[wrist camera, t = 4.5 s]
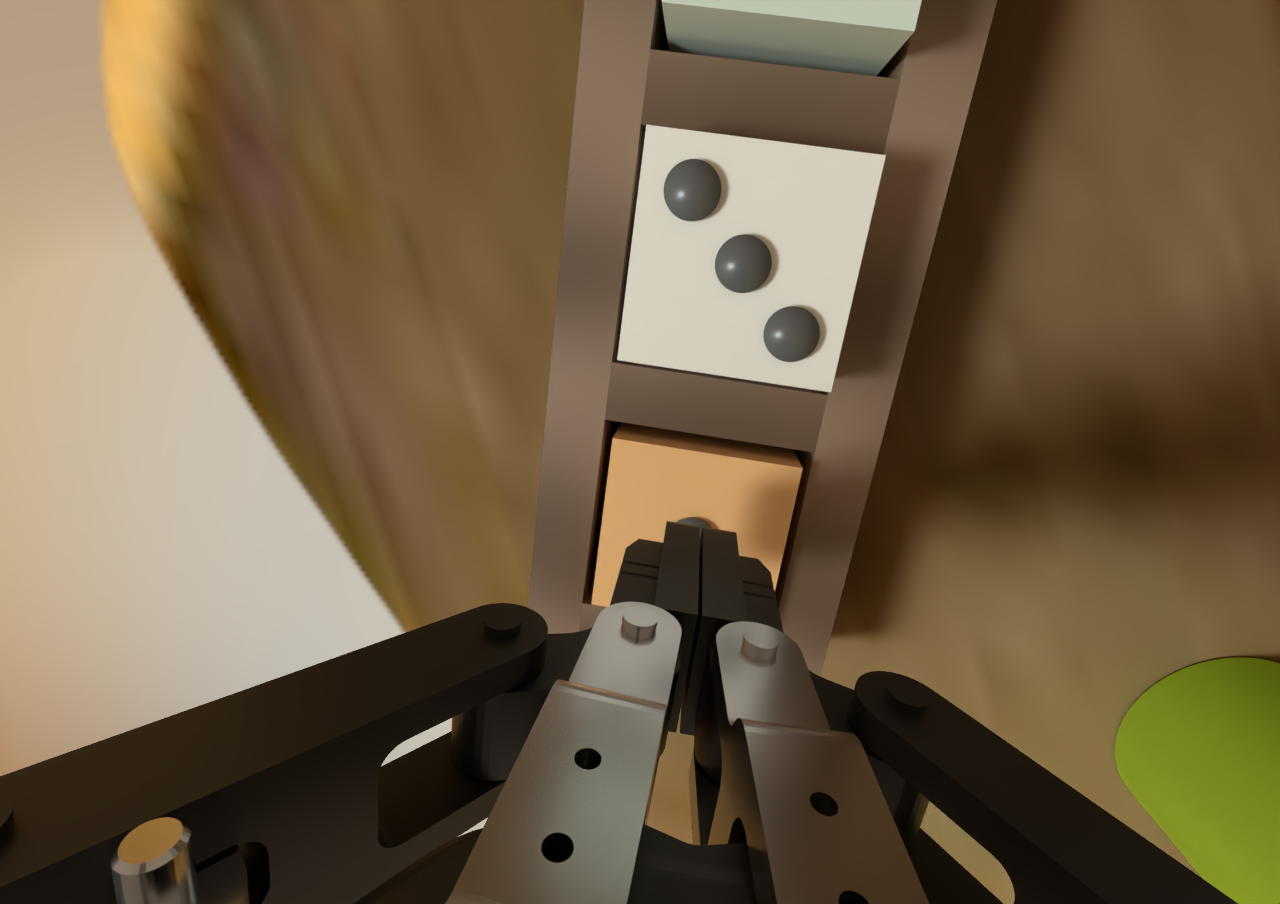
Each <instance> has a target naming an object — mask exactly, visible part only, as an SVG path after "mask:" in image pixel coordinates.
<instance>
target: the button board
mask: <svg viewBox="0 0 1280 904" xmlns="http://www.w3.org/2000/svg"><path fill="white" fill-rule="evenodd" d="M996 4H997V0H922V1H921V6H920V10H919V14H918V19H917V23H916V27H915V31H914V33H913V34H912V35H911V36H910V37H909V38H908V40H907V41H906V42H905V43H904V44H903V45H902V47H901V48H900V49H899V50H898V51H897V52H896V54H895V55H894V56H893V57H892V58H891V59H890V61H889V62H888V63H887V64H886V65H885V66H884V68H883V69H882V70H881V71H880V72H879V73H878V75H877V76H869V75H860V74H852V73H844V72H835V71H827V70H819V69H811V68H802V67H794V66H786V65H777V64H769V63H761V62H752V61H744V60H736V59H728V58H719V57H711V56H703V55H694V54H686V53H678V52H670V51H663V48H664V40H665V32H666V27H665V21H664V14H663V7H662V0H585V1H584V12H583V23H582V34H581V44H580V55H579V66H578V77H577V87H576V98H575V109H574V119H573V130H572V141H571V152H570V162H569V173H568V184H567V195H566V205H565V216H564V227H563V238H562V248H561V259H560V270H559V280H558V291H557V302H556V313H555V323H554V334H553V345H552V356H551V366H550V377H549V388H548V399H547V409H546V420H545V431H544V441H543V452H542V463H541V474H540V484H539V495H538V506H537V517H536V527H535V538H534V549H533V560H532V570H531V581H530V592H529V602H528V608H529V609H532V610H534V611H535V612H537V613H538V614H540V615H541V616H542V617H543V618H544V620H545V621H546V623H547V626H548V634H558V633H574V632H580V631H583V630H587V629H589V628H592V627H593V626H594V624H595V621H596V619H597V617H598V615H599V614H600V612H601V611H602V610H603V609H605V608H606V607H603V606H598V605H592V604H591V603H592V595H593V587H594V579H595V572H596V564H597V556H598V548H599V540H600V532H601V525H602V517H603V509H604V501H605V493H606V485H607V477H608V470H609V462H610V454H611V446H612V438H613V436H614V431H615V423H616V421H617V422H624V423H630V424H636V425H643V426H649V427H655V428H662V429H668V430H675V431H681V432H687V433H694V434H700V435H706V436H713V437H719V438H725V439H732V440H738V441H744V442H751V443H757V444H763V445H770V446H776V447H783V448H789V449H794V453H795V454H796V456H797V458H798V460H799V462H800V464H801V466H802V468H803V469H802V474H801V478H800V483H799V487H798V491H797V496H796V500H795V505H794V509H793V514H792V518H791V522H790V527H789V531H788V536H787V540H786V545H785V549H784V553H783V558H782V562H781V567H780V571H779V576H778V580H777V584H776V589H775V595H776V600H777V604H778V609H779V613H780V618H781V623H782V627H783V632H784V634H786V635H787V636H789V637H790V638H791V639H792V640H793V641H794V642H795V643H796V644H797V645H798V646H799V648H800V650H801V652H802V654H803V657H804V659H805V662H806V665H807V668H808V670H810V671H811V672H813V673H814V674H816V675H818V676H820V675H821V671H822V667H823V664H824V660H825V656H826V652H827V648H828V645H829V641H830V637H831V633H832V629H833V625H834V622H835V618H836V614H837V610H838V606H839V603H840V599H841V595H842V591H843V587H844V584H845V580H846V576H847V572H848V568H849V564H850V561H851V557H852V553H853V549H854V545H855V542H856V538H857V534H858V530H859V526H860V522H861V519H862V515H863V511H864V507H865V503H866V500H867V496H868V492H869V488H870V484H871V481H872V477H873V473H874V469H875V465H876V461H877V458H878V454H879V450H880V446H881V442H882V439H883V435H884V431H885V427H886V423H887V419H888V416H889V412H890V408H891V404H892V400H893V397H894V393H895V389H896V385H897V381H898V377H899V374H900V370H901V366H902V362H903V358H904V355H905V351H906V347H907V343H908V339H909V336H910V332H911V328H912V324H913V320H914V316H915V313H916V309H917V305H918V301H919V297H920V294H921V290H922V286H923V282H924V278H925V274H926V271H927V267H928V263H929V259H930V255H931V252H932V248H933V244H934V240H935V236H936V233H937V229H938V225H939V221H940V217H941V213H942V210H943V206H944V202H945V198H946V194H947V191H948V187H949V183H950V179H951V175H952V171H953V168H954V164H955V160H956V156H957V152H958V149H959V145H960V141H961V137H962V133H963V130H964V126H965V122H966V118H967V114H968V110H969V107H970V103H971V99H972V95H973V91H974V88H975V84H976V80H977V76H978V72H979V68H980V65H981V61H982V57H983V53H984V49H985V46H986V42H987V38H988V34H989V30H990V27H991V23H992V19H993V15H994V11H995V7H996ZM646 125H653V126H661V127H669V128H677V129H685V130H692V131H700V132H708V133H716V134H724V135H732V136H739V137H747V138H755V139H763V140H771V141H778V142H786V143H794V144H802V145H810V146H817V147H825V148H833V149H841V150H849V151H857V152H864V153H872V154H880V155H886V157H885V161H884V166H883V170H882V174H881V179H880V183H879V187H878V192H877V196H876V200H875V205H874V209H873V213H872V218H871V222H870V226H869V231H868V235H867V239H866V244H865V248H864V252H863V257H862V261H861V265H860V270H859V274H858V278H857V283H856V287H855V291H854V296H853V300H852V304H851V309H850V313H849V317H848V321H847V326H846V330H845V334H844V339H843V343H842V347H841V352H840V356H839V360H838V365H837V369H836V373H835V378H834V382H833V386H832V391H831V392H825V391H818V390H812V389H805V388H799V387H792V386H785V385H779V384H772V383H766V382H759V381H752V380H746V379H739V378H732V377H726V376H719V375H713V374H706V373H699V372H693V371H686V370H680V369H673V368H666V367H660V366H653V365H647V364H640V363H633V362H627V361H620V360H617V356H618V348H619V340H620V332H621V324H622V316H623V308H624V300H625V292H626V284H627V276H628V268H629V260H630V252H631V244H632V236H633V228H634V220H635V212H636V204H637V196H638V188H639V180H640V172H641V164H642V156H643V148H644V140H645V132H646Z"/></svg>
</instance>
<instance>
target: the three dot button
mask: <svg viewBox="0 0 1280 904" xmlns="http://www.w3.org/2000/svg"><path fill="white" fill-rule="evenodd" d="M885 157H886V155H880V154H872V153H864V152H857V151H849V150H841V149H833V148H825V147H817V146H810V145H802V144H794V143H786V142H778V141H771V140H763V139H755V138H747V137H739V136H732V135H724V134H716V133H708V132H700V131H692V130H685V129H677V128H669V127H661V126H653V125H646V132H645V140H644V148H643V156H642V164H641V172H640V180H639V188H638V196H637V204H636V212H635V220H634V228H633V236H632V244H631V252H630V260H629V268H628V276H627V284H626V292H625V300H624V308H623V316H622V324H621V332H620V340H619V348H618V356H617V360H620V361H627V362H633V363H640V364H647V365H653V366H660V367H666V368H673V369H680V370H686V371H693V372H699V373H706V374H713V375H719V376H726V377H732V378H739V379H746V380H752V381H759V382H766V383H772V384H779V385H785V386H792V387H799V388H805V389H812V390H818V391H825V392H831V391H832V386H833V382H834V378H835V373H836V369H837V365H838V360H839V356H840V352H841V347H842V343H843V339H844V334H845V330H846V326H847V321H848V317H849V313H850V309H851V304H852V300H853V296H854V291H855V287H856V283H857V278H858V274H859V270H860V265H861V261H862V257H863V252H864V248H865V244H866V239H867V235H868V231H869V226H870V222H871V218H872V213H873V209H874V205H875V200H876V196H877V192H878V187H879V183H880V179H881V174H882V170H883V166H884V161H885Z"/></svg>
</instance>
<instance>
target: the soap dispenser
mask: <svg viewBox="0 0 1280 904" xmlns="http://www.w3.org/2000/svg"><path fill="white" fill-rule="evenodd" d="M1115 761H1116V766H1117V769H1118V772H1119V774H1120V777H1121V779H1122V780H1123V782H1124V784H1125V785H1126V787H1127V788H1128V789H1129V790H1130V792H1131V793H1132V794H1133V795H1134V796H1135V798H1136V799H1137V800H1138V801H1139V802H1140V804H1141V805H1142V806H1143V807H1144V808H1145V810H1146V811H1147V812H1148V813H1149V815H1150V816H1151V817H1152V818H1153V819H1154V821H1155V822H1156V823H1157V824H1158V825H1159V827H1160V828H1161V829H1162V830H1163V831H1164V833H1165V834H1166V835H1167V836H1168V837H1169V839H1170V840H1171V841H1172V842H1173V843H1174V845H1175V846H1176V847H1177V848H1178V849H1179V851H1180V852H1181V853H1182V854H1183V855H1184V857H1185V858H1186V859H1187V860H1188V861H1189V863H1190V864H1191V865H1192V866H1193V867H1194V869H1195V870H1196V871H1197V872H1198V873H1199V875H1200V876H1201V877H1202V878H1203V879H1204V880H1205V881H1207V882H1208V883H1209V884H1211V885H1212V886H1214V887H1215V888H1217V889H1218V890H1219V891H1221V892H1222V893H1224V894H1225V895H1227V896H1228V897H1229V898H1231V899H1232V900H1234V901H1235V902H1237V903H1238V904H1280V663H1277V662H1273V661H1269V660H1264V659H1258V658H1246V657H1236V658H1223V659H1216V660H1210V661H1206V662H1202V663H1198V664H1195V665H1192V666H1189V667H1186V668H1184V669H1181V670H1179V671H1177V672H1175V673H1173V674H1171V675H1169V676H1167V677H1165V678H1164V679H1162V680H1160V681H1159V682H1157V683H1156V684H1154V685H1153V686H1152V687H1150V688H1149V689H1148V690H1147V691H1146V692H1144V693H1143V694H1142V695H1141V696H1140V697H1139V698H1138V699H1137V700H1136V701H1135V703H1134V704H1133V705H1132V706H1131V707H1130V709H1129V710H1128V712H1127V713H1126V715H1125V716H1124V718H1123V720H1122V722H1121V724H1120V727H1119V729H1118V732H1117V736H1116V741H1115Z"/></svg>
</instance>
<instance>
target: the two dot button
mask: <svg viewBox="0 0 1280 904" xmlns="http://www.w3.org/2000/svg"><path fill="white" fill-rule="evenodd" d="M921 1H922V0H662V7H663V14H664V21H665V27H666V34H667V40H668V47H669V51H670V52H678V53H686V54H694V55H703V56H711V57H719V58H728V59H736V60H744V61H752V62H761V63H769V64H777V65H786V66H794V67H802V68H811V69H819V70H827V71H835V72H844V73H852V74H860V75H869V76H877V75H878V73H879V72H880V71H881V70H882V69H883V68H884V66H885V65H886V64H887V63H888V62H889V61H890V59H891V58H892V57H893V56H894V55H895V54H896V52H897V51H898V50H899V49H900V48H901V47H902V45H903V44H904V43H905V42H906V41H907V40H908V38H909V37H910V36H911V35H912V34H913V33H914V31H915V27H916V23H917V19H918V14H919V10H920V6H921Z"/></svg>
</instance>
